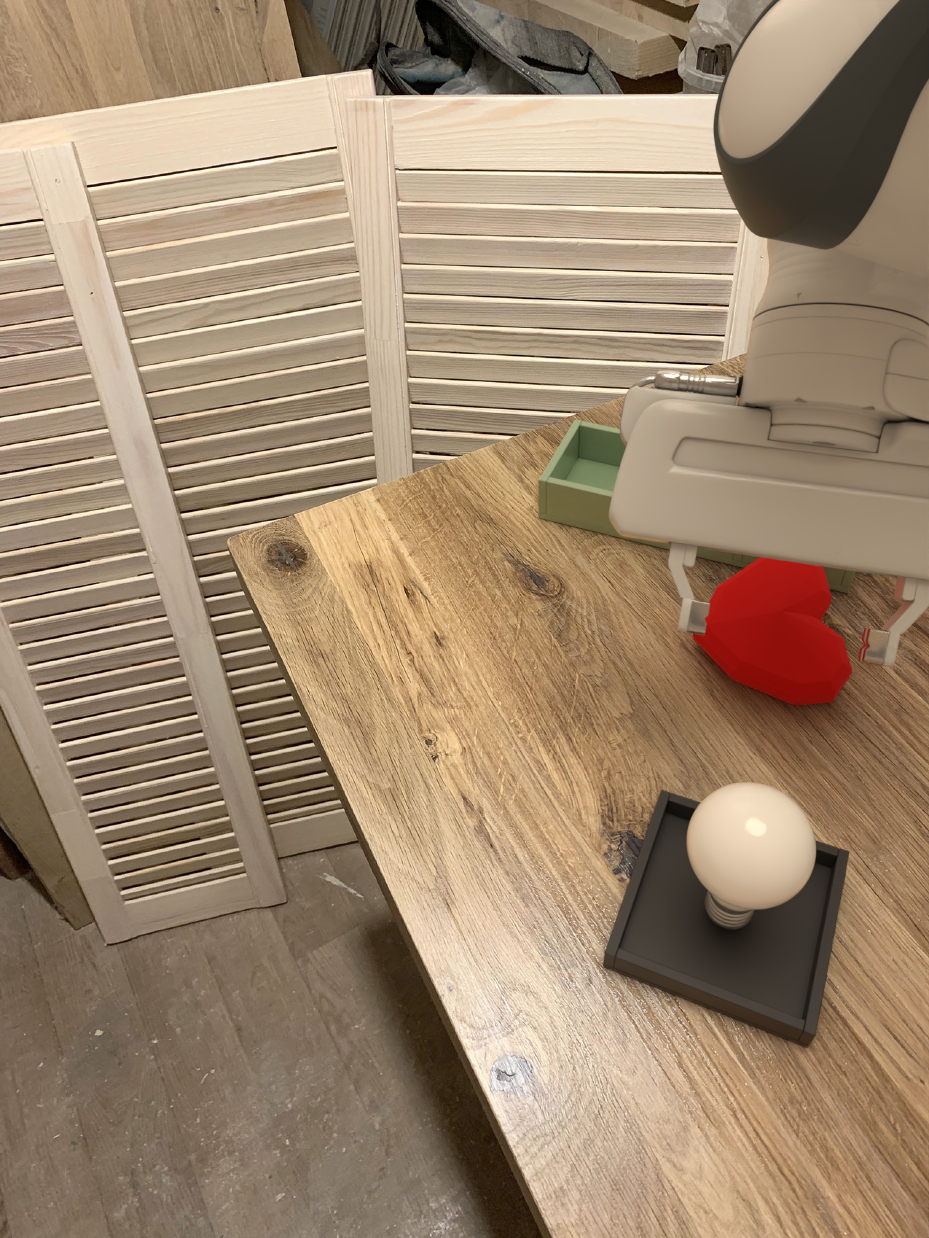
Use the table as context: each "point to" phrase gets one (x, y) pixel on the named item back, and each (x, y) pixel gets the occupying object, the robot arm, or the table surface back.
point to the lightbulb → (749, 850)
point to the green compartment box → (586, 484)
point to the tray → (726, 935)
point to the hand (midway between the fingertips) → (781, 648)
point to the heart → (777, 632)
